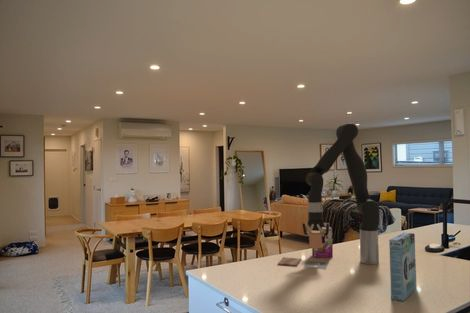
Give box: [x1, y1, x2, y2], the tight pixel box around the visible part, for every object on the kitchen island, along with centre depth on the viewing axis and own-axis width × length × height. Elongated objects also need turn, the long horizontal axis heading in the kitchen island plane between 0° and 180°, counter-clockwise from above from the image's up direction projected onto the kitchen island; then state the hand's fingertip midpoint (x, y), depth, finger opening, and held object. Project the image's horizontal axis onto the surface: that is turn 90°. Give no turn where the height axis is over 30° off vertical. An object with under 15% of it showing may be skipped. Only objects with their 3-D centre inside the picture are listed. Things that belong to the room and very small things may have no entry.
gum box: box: [388, 232, 418, 302], centre depth 147 cm, size 20×5×23 cm, turn 140°
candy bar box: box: [311, 226, 334, 259], centre depth 206 cm, size 11×5×16 cm, turn 84°
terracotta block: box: [308, 231, 323, 249], centre depth 189 cm, size 6×9×7 cm, turn 160°
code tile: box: [303, 260, 329, 270], centre depth 189 cm, size 11×14×1 cm
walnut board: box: [277, 256, 302, 268], centre depth 194 cm, size 10×13×1 cm
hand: (316, 242), depth 189 cm, fingers closed on terracotta block, 6 cm apart
